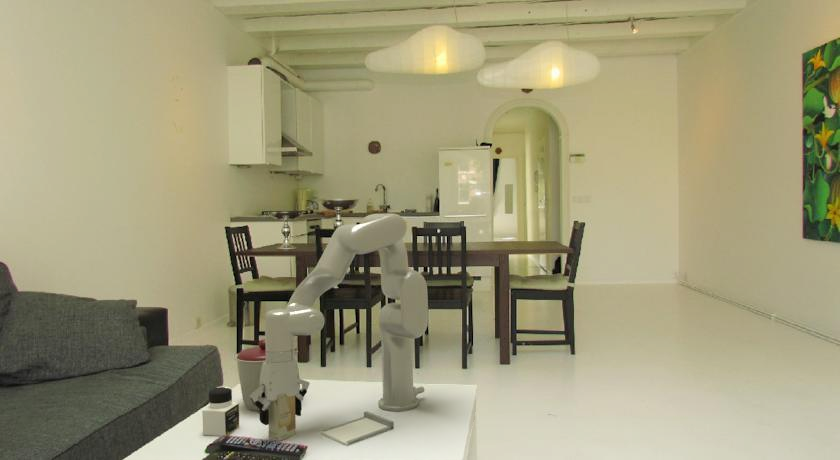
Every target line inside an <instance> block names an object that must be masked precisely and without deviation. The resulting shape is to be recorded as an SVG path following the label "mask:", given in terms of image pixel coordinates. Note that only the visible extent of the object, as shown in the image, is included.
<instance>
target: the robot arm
mask: <svg viewBox="0 0 840 460" xmlns="http://www.w3.org/2000/svg"><path fill="white" fill-rule="evenodd" d="M407 229H408V227H407V223H406V220H405V218H403V216H401V215H400V214H397V213H372V214H369V215H367V216H365V217H364V218H363V219H362V221H361V223H359V224H358V223H351V224H349V223H348V224H342V225H339V226H338V227H337V228H336V229H335V230H334V232H333V234H332V235H331V237H330V239H329V241H328V243H327V244H326V247H325V248H324V251H323V253H322V254H321V256H320V258H319V260H318V262H317V264H316V266H315V267H314V269H313V270H312V271H311V272H310V273H309V274H307V276H306V277H305V278H304V279H303V280H302V281H301V282H300V283H299V284H298V286H296V288H295V290H294V291H293V293H292V295H291V297H290V299H289V301H288V303H287V304H286V307H285V308H277V309H276V308H275V309H271V310H268V311H267V312H266V313H265V315H264V336H265V337H264V339H265V348H266V362H263V364H262V369H261V375H260V387H259V388H258V389H257V390H255V391H254V392H253V393H252V394H250V398H251V400H252V402H253V404H254V405H255V406H257V407H258V408H259V411H258V412H259V421H260V424H262V425H264V426H269V411H268V410H267V407H268V405H269V404H270V402H271V401H276V400H277V396H278V395H282V394H287V396H288V397H291V396H295V416H298V417H300V416H302V409H303V408H302V402H303V400H304V397H305V395H307V393H308V389H309V387H310V384H311V383H310V381H307V380H304V379H302V378H300V370H299V366H298V361H297V359H296V358H295V357H296V355H297V354H298V353H299V350H298V348H295V336H312V335H316V334H317V333H319V332H321V330H322V329H323V328H324V325H325V322H326V321H325V320H326V319H325V316H324V314H323V312H321V311H320V310H319V309H318V308H315V307H314V305H315V303H316V302H317V301H318V299H319V298H320V297H321V296H322V295H323V294H324V293H325V292H327V291H329V290H330V289H332V288H334V287H336V286H337V285H339V284H341V283H342V282H343V280H344V278H345V276H346V274H347V272H348V270H349V267H350V266H351V264H352V263H353V262H352V261H353V260H354V258H355V256H356V255H364V254H369V253H372V252H376V251H378V255H379V260H380V283H381V284H380V285H381V287H380V288H381V292H382V294H383V295H384V296H385V297H387V298H389V299H392V300H397V301H399V302H400V303H399V302H390V303H386V304H385V305H384V306H382V308H381V309H380V310H379V312H378V317H377V325H378V330H379V333H380V334H379V335H380V340H381V341H380V342H381V365H382V366H381V368H382V369H381V370H382V372H381V373H382V397H381V398H380V399H379V400H378V401H377V403H378V404H377V405H378V408H380V409H382V410H386V411H391V412H399V411H400V412H402V411H408V410H411V409H412V410H413V409H414V408H416V407H417V406H418V405H419V398H418V397H417V396H418V395H419V394H422V393H425V388H424V386H419V387H416V386H414V366H413V365H414V364H413V363H414V361H413V344H412V339H419V338H420V337H421V336H423V335H424V334H425V332H426V330H427V328H428V324H429V304H428V302H429V299H428V294H429V293H428V286H427V282H426V280H425V277H424V276H423V275H422V274H421V273H420V272H419V271H417V270H415V269H409V259H408V250H407V247H406V244H405V241H404V237H405V235H406V233H407ZM259 395H260V397H261V398H262V399H261V401H259V400H258V396H259Z"/></svg>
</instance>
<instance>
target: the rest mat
mask: <svg viewBox="0 0 840 460" xmlns="http://www.w3.org/2000/svg"><path fill="white" fill-rule="evenodd" d="M394 426H395V425H394V421H393V420H391V419H387V418H385V417H383V416H380V415H377V414H374V413H373V412H370V411H364V412H363V416H361V417H359V418H355V419H353V420H350V421H347V422H344V423H340V424H338V425H335V426H331V427H329V428H326V429H323V430H320V431H319V433H320V435H321V436H324V437H326V438H329V439H331V440H333V441H335V442H337V443H338V444H339V443H340V444H341V445H343V446H346V447H347V446H351V445H353V444H357V443H359V442H360V441H364V440H367V439H369V438H373V437H375V436H377V435H380V434H383V433H386V432H388V431H391V430H394V429H395V427H394Z"/></svg>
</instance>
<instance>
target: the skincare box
mask: <svg viewBox="0 0 840 460" xmlns="http://www.w3.org/2000/svg"><path fill="white" fill-rule="evenodd" d="M268 411H269V424H268V439H271V440H275V441H279V442H281V441H282V440H286V439H288V438H290V437H293V436H295V435H296V434H297V430H296V428H297V427H296V424H297V423H296V418H297V417H296V416H297V415H295V396H291V397H288V396H287V394H282V395H278V396H277V400H276V401H271V402H270V404H269V405H268Z"/></svg>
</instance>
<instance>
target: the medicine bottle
mask: <svg viewBox="0 0 840 460" xmlns="http://www.w3.org/2000/svg"><path fill="white" fill-rule="evenodd" d="M232 392H233V390H232V388H231V387H230V386H217V387H214V388H212V389H210V390H209V391H208V406H206V407H204V408H203V409H202V410H201V411H202V412H201V414H202V417H201V418H202V435H203V436H213V437H215V436H216V437H224V436H223V435H227V436H228V434H229V435H230V434H231V433H233V432H234V431H236V430H237V429H239V428H240V411H239V409H240V407H239V405H240V404H239V402H237V401H235V402H234V401H233V393H232Z"/></svg>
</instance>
